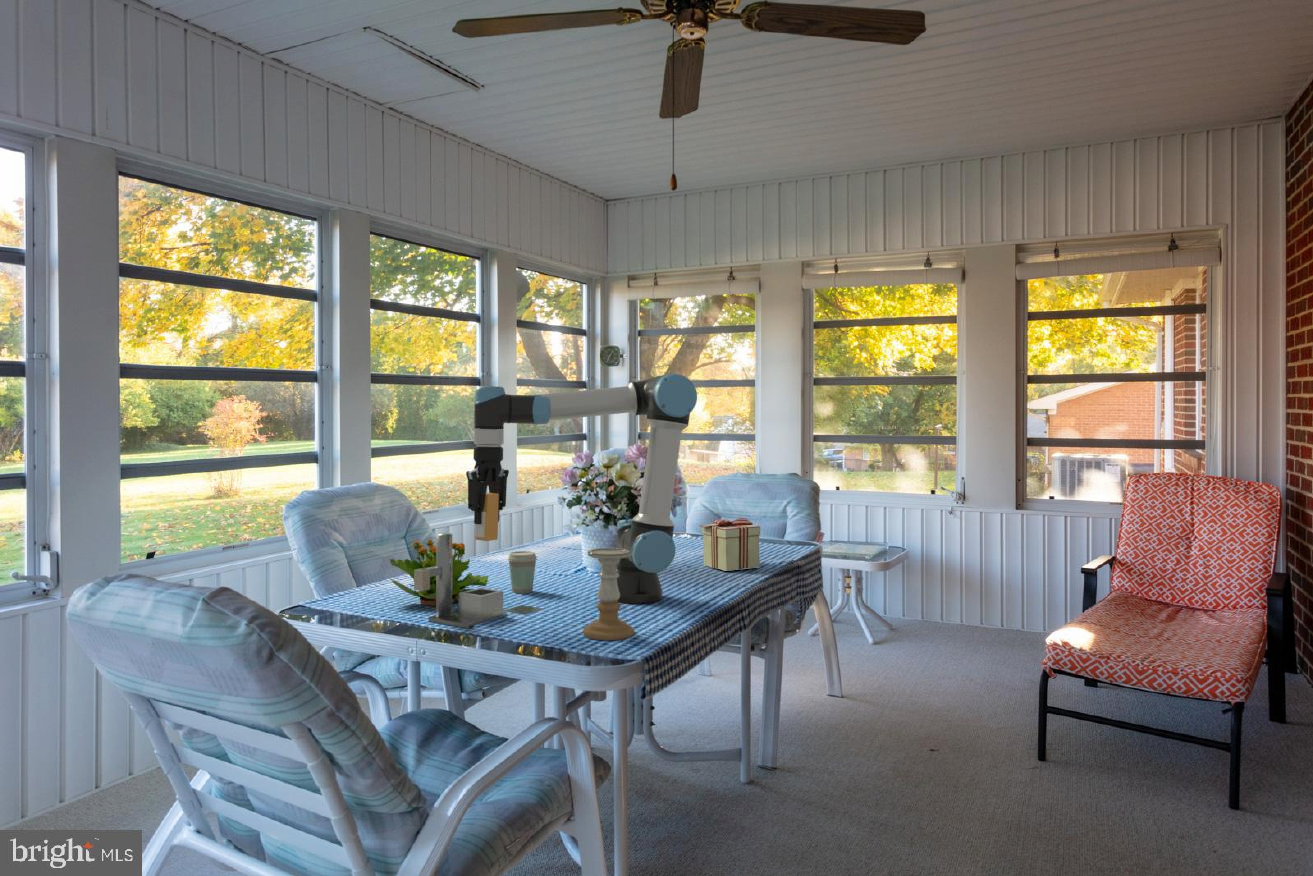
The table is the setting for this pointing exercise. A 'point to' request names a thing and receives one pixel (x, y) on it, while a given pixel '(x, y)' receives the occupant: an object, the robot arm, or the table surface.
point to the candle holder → (608, 598)
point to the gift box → (731, 544)
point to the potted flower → (430, 561)
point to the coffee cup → (522, 571)
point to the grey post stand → (471, 603)
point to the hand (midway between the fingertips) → (486, 535)
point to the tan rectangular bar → (490, 517)
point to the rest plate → (523, 609)
